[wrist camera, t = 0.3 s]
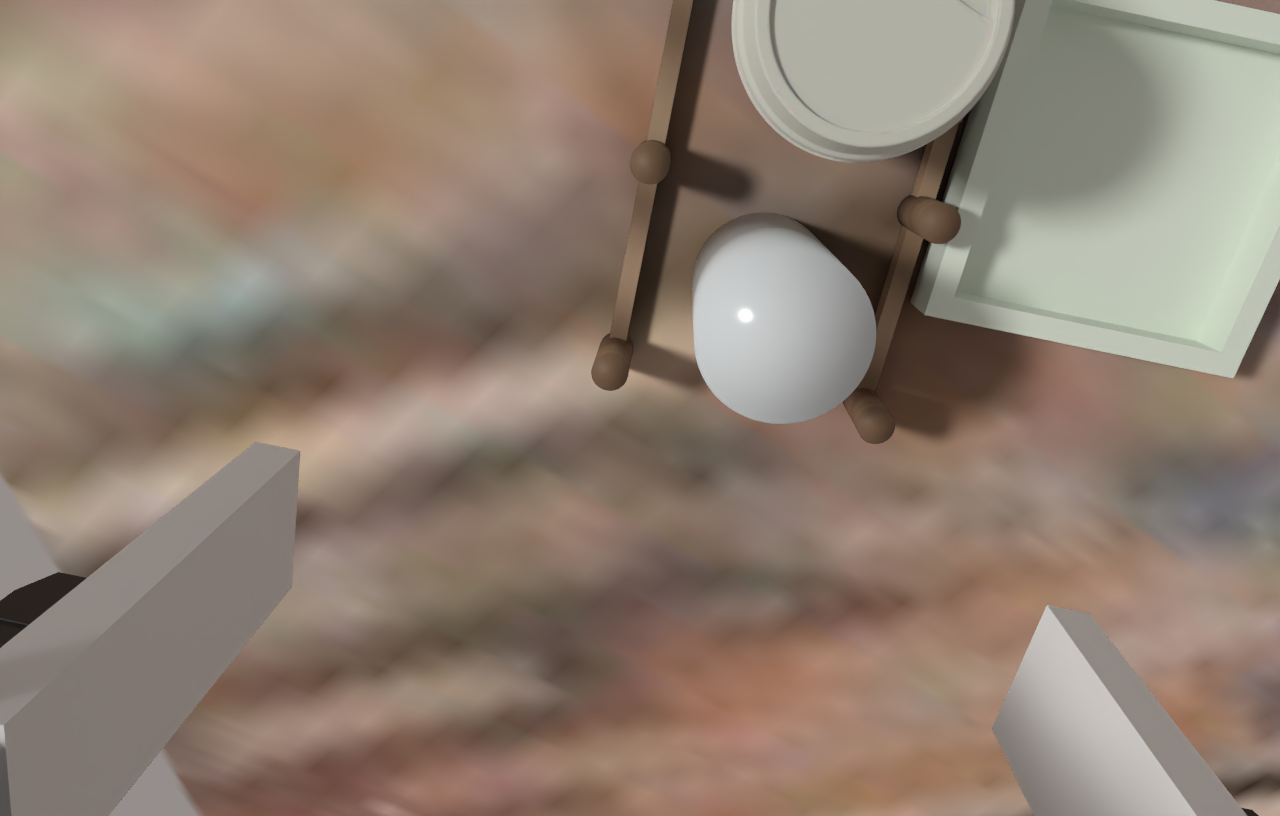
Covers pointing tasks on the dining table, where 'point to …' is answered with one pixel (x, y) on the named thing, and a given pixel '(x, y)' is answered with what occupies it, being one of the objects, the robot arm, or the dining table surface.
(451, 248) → the dining table surface
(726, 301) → the white rounded capsule
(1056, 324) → the tray
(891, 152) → the coffee cup
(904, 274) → the rack
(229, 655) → the robot arm
